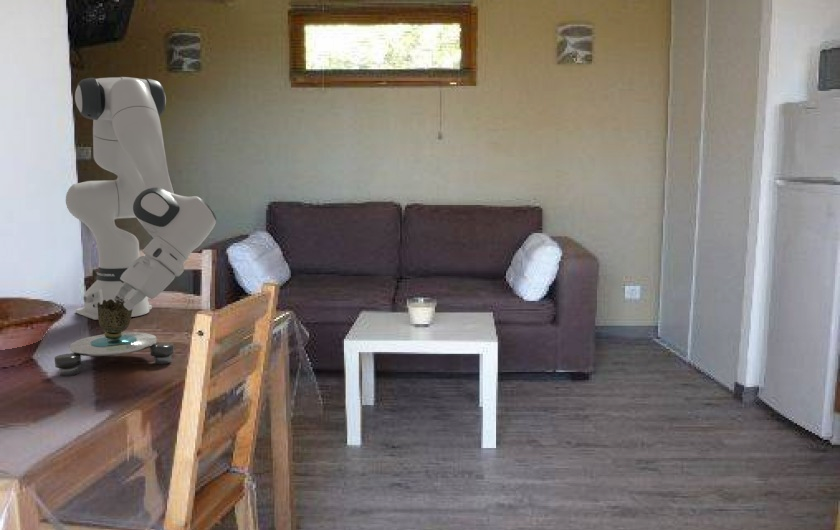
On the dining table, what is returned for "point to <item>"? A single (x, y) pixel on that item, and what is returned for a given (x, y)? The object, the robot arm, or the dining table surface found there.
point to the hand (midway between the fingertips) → (120, 304)
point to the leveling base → (112, 350)
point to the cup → (113, 318)
